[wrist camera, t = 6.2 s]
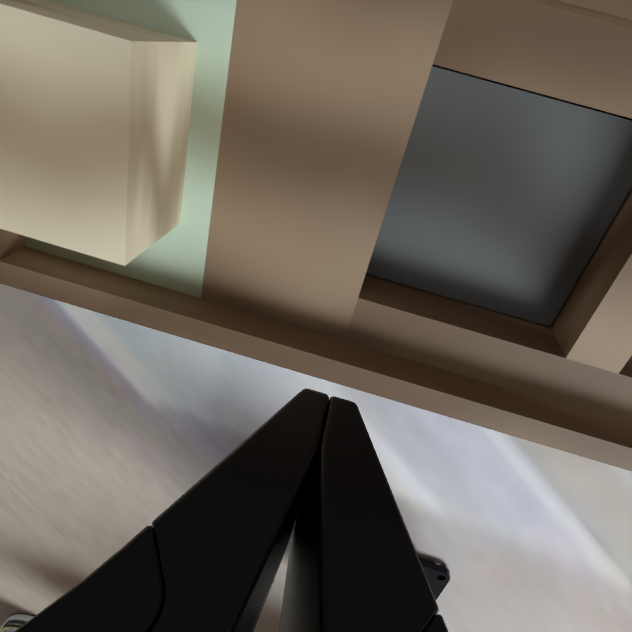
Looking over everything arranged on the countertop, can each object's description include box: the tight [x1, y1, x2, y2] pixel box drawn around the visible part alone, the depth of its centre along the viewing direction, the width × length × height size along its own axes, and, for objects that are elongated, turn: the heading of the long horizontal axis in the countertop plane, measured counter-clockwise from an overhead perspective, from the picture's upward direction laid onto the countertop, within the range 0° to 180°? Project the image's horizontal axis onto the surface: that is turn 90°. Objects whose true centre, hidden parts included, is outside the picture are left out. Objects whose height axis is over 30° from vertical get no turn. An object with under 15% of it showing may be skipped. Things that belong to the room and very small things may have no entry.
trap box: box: [0, 0, 632, 471], centre depth 15 cm, size 14×34×6 cm, turn 77°
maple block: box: [0, 0, 197, 266], centre depth 15 cm, size 6×6×4 cm
